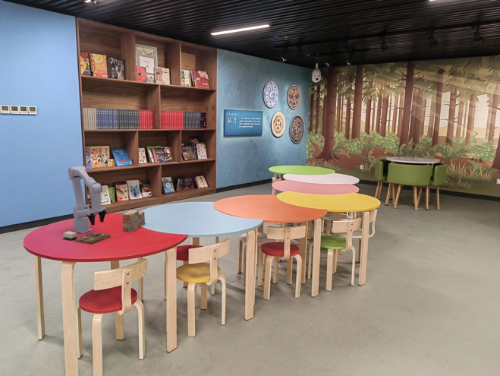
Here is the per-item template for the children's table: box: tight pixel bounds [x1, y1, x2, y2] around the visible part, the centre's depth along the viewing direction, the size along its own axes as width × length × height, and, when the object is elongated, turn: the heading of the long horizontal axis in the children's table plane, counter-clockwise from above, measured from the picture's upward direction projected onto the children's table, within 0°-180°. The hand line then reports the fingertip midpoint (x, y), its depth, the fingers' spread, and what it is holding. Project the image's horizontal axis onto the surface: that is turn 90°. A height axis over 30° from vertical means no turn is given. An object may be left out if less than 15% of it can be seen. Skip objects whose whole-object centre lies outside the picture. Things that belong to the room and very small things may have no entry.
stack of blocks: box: [121, 209, 146, 233], centre depth 268 cm, size 21×6×12 cm, turn 171°
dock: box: [73, 232, 111, 245], centre depth 241 cm, size 14×16×2 cm
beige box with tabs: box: [62, 230, 78, 241], centre depth 241 cm, size 8×4×4 cm, turn 67°
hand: (97, 223), depth 243 cm, fingers open, 7 cm apart
